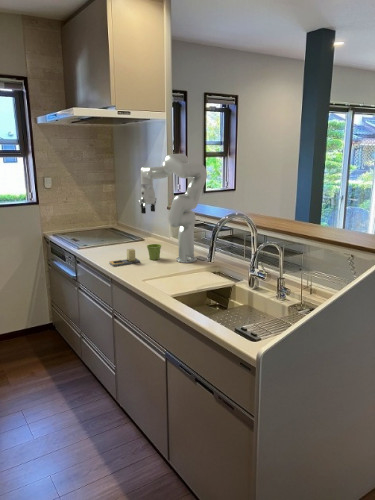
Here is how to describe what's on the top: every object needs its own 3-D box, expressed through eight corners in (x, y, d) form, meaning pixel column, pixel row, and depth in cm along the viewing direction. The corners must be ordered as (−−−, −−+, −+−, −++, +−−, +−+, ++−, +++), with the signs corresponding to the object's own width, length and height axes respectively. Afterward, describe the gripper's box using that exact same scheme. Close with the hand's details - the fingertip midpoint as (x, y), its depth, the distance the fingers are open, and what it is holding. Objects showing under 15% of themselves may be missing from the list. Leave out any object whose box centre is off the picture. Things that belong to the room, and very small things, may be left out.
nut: (135, 262, 246) (135, 249, 244) (129, 263, 245) (128, 250, 243) (133, 261, 250) (132, 248, 248) (127, 261, 248) (126, 249, 246)
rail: (136, 259, 252) (136, 257, 252) (140, 262, 246) (139, 260, 246) (109, 263, 245) (109, 261, 244) (112, 266, 239) (112, 264, 238)
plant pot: (144, 260, 251) (143, 246, 249) (151, 256, 260) (150, 243, 258) (158, 261, 248) (157, 247, 246) (164, 257, 256) (164, 244, 254)
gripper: (143, 187, 255) (144, 214, 259) (159, 185, 269) (160, 211, 273) (134, 187, 259) (135, 213, 263) (151, 185, 273) (152, 210, 277)
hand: (148, 212), depth 268 cm, fingers open, 9 cm apart
